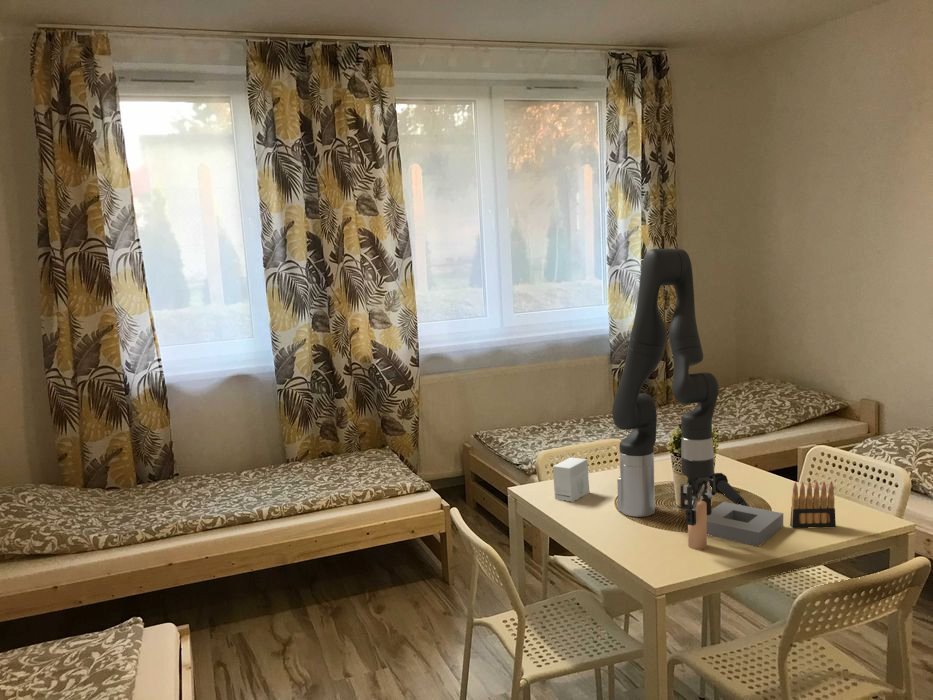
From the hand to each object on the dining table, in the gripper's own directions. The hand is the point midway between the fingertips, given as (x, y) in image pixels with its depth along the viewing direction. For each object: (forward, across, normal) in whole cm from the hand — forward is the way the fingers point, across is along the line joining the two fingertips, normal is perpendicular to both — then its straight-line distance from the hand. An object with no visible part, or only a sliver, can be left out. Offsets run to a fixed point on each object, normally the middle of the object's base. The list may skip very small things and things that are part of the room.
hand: (699, 519), depth 188 cm
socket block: (+7, -16, +4) cm, 18 cm away
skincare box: (+6, -14, -48) cm, 50 cm away
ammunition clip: (+7, -28, +18) cm, 34 cm away
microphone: (+7, -37, -9) cm, 39 cm away
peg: (+7, 0, -1) cm, 7 cm away
